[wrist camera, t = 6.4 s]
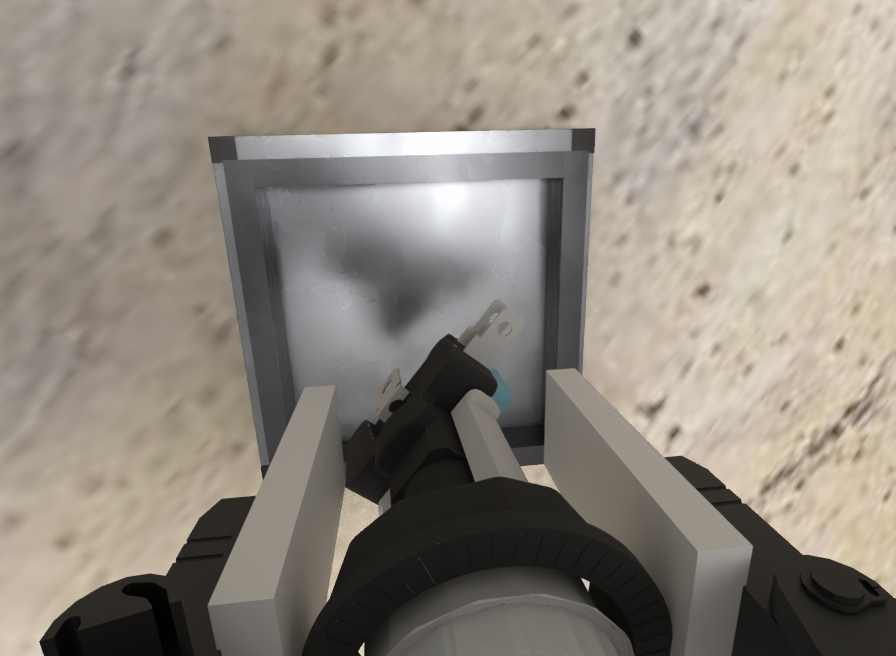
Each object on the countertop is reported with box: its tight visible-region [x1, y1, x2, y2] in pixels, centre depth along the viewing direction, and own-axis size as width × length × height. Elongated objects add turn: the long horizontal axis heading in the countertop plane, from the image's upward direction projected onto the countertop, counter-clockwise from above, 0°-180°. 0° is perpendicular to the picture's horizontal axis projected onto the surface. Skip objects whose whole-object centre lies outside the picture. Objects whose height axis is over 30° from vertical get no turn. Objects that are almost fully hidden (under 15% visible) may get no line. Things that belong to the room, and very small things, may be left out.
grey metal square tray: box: [208, 128, 595, 480], centre depth 22 cm, size 16×16×3 cm
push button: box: [302, 300, 673, 656], centre depth 10 cm, size 7×5×10 cm
